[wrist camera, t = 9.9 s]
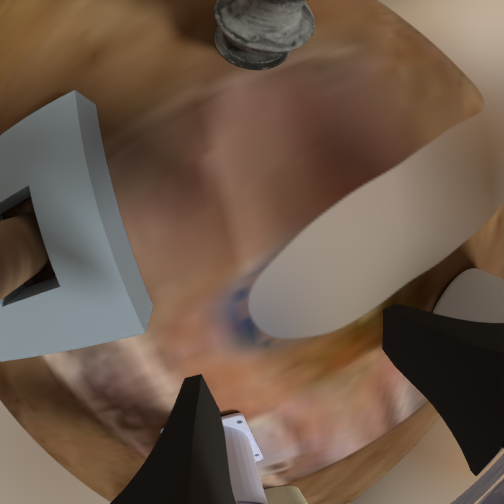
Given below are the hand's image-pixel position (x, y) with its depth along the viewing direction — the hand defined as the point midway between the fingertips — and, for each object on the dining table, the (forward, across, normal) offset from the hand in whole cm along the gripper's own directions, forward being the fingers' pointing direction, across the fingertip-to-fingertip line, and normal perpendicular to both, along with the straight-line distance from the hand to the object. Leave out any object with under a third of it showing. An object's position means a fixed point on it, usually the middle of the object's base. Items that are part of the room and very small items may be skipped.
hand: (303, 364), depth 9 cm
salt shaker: (+10, -4, -16) cm, 19 cm away
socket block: (+9, +14, -7) cm, 18 cm away
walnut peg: (+9, +14, -7) cm, 18 cm away
